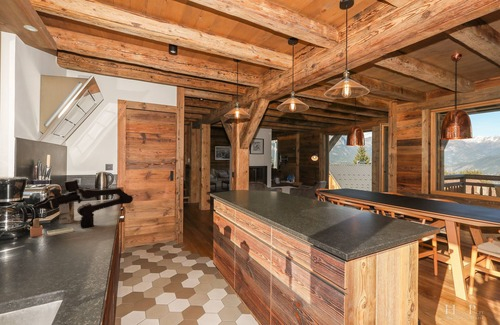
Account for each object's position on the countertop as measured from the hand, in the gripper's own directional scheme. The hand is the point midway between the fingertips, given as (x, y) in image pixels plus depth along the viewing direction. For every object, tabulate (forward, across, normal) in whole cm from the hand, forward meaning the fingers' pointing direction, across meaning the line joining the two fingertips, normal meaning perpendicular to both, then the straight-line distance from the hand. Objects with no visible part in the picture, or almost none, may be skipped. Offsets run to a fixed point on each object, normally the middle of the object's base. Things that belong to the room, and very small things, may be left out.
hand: (33, 206), depth 135 cm
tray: (-8, +4, +18) cm, 21 cm away
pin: (+2, +1, +16) cm, 16 cm away
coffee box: (-14, -22, +20) cm, 33 cm away
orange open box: (+2, +1, +17) cm, 17 cm away
